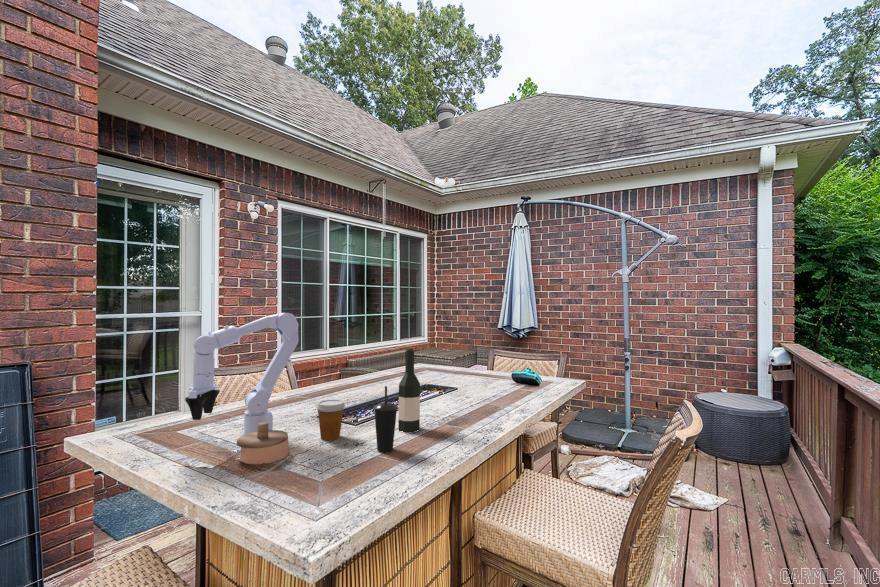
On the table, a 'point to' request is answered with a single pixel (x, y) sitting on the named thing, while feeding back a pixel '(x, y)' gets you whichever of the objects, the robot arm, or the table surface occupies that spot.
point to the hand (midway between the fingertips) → (202, 416)
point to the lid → (262, 437)
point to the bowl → (264, 453)
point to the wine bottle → (409, 397)
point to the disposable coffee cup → (330, 418)
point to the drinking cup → (385, 424)
